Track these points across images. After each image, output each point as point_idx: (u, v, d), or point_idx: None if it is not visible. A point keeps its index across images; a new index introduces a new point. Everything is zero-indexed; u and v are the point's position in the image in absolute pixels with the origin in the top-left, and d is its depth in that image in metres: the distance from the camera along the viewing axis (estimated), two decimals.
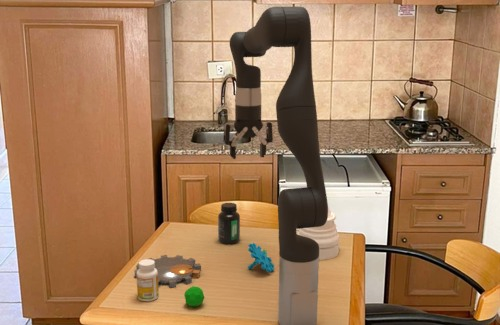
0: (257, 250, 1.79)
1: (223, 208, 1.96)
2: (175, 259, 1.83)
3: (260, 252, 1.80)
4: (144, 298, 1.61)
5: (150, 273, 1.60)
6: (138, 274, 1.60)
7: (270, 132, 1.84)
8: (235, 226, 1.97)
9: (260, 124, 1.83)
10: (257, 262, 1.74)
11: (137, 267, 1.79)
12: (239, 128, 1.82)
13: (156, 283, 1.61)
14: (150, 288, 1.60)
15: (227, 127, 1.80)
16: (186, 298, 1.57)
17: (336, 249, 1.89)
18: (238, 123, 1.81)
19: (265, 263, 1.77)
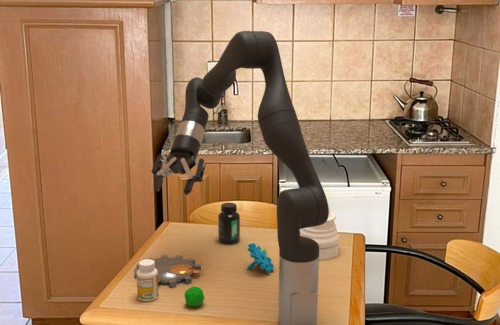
0: (257, 250, 1.79)
1: (223, 208, 1.96)
2: (175, 259, 1.83)
3: (260, 252, 1.80)
4: (144, 298, 1.61)
5: (150, 273, 1.60)
6: (138, 274, 1.60)
7: (199, 167, 1.70)
8: (235, 226, 1.97)
9: (191, 159, 1.72)
10: (256, 262, 1.74)
11: (137, 267, 1.79)
12: (169, 159, 1.74)
13: (156, 283, 1.61)
14: (150, 288, 1.60)
15: (158, 156, 1.75)
16: (186, 298, 1.57)
17: (336, 249, 1.89)
18: (170, 155, 1.74)
19: (264, 263, 1.77)
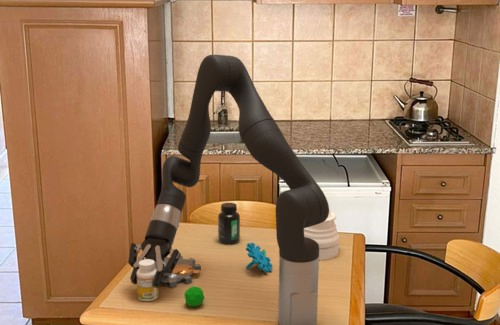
0: (255, 250, 1.80)
1: (223, 208, 1.96)
2: None
3: (258, 252, 1.80)
4: (144, 298, 1.61)
5: (150, 273, 1.60)
6: (138, 274, 1.60)
7: (171, 259, 1.61)
8: (235, 226, 1.97)
9: (167, 246, 1.64)
10: (254, 262, 1.74)
11: None
12: (144, 246, 1.65)
13: None
14: (150, 288, 1.60)
15: (132, 245, 1.66)
16: (186, 298, 1.57)
17: (336, 249, 1.89)
18: (144, 241, 1.66)
19: (262, 263, 1.77)
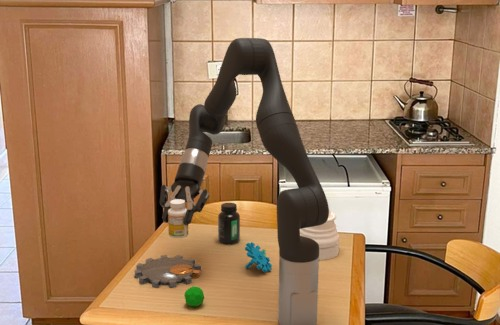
0: (255, 249, 1.80)
1: (223, 208, 1.96)
2: (175, 259, 1.83)
3: (258, 251, 1.80)
4: (175, 235, 1.70)
5: (181, 211, 1.69)
6: (169, 212, 1.69)
7: (201, 198, 1.71)
8: (235, 226, 1.97)
9: (196, 187, 1.73)
10: (252, 261, 1.75)
11: (137, 267, 1.79)
12: (175, 187, 1.74)
13: None
14: (181, 226, 1.70)
15: (162, 187, 1.75)
16: (186, 298, 1.57)
17: (336, 249, 1.89)
18: (174, 183, 1.75)
19: (261, 263, 1.77)
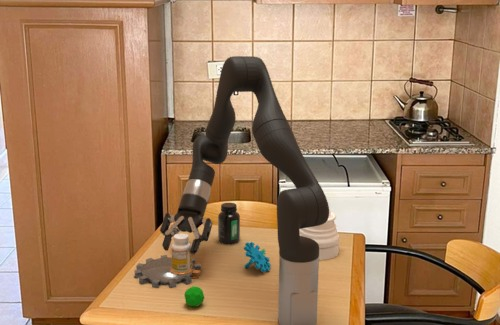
0: (254, 249, 1.80)
1: (223, 208, 1.96)
2: None
3: (257, 251, 1.81)
4: (178, 269, 1.74)
5: (184, 246, 1.72)
6: (173, 247, 1.73)
7: (206, 227, 1.74)
8: (235, 226, 1.97)
9: (199, 218, 1.76)
10: (251, 261, 1.75)
11: (137, 267, 1.79)
12: (177, 218, 1.77)
13: (189, 255, 1.74)
14: (184, 260, 1.73)
15: (166, 215, 1.79)
16: (186, 298, 1.57)
17: (336, 249, 1.89)
18: (178, 213, 1.78)
19: (260, 262, 1.77)
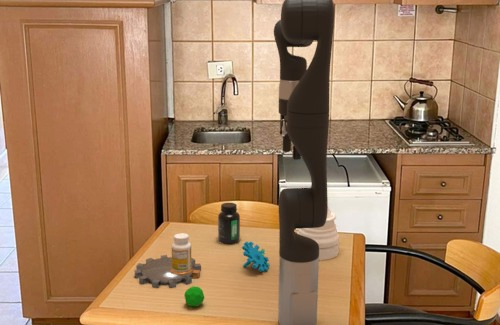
0: (252, 249, 1.80)
1: (223, 208, 1.96)
2: None
3: (256, 251, 1.81)
4: (179, 269, 1.73)
5: (185, 245, 1.73)
6: (174, 247, 1.73)
7: None
8: (235, 226, 1.97)
9: None
10: (248, 260, 1.75)
11: (137, 267, 1.79)
12: None
13: (190, 255, 1.74)
14: (185, 260, 1.73)
15: (280, 116, 1.76)
16: (186, 298, 1.57)
17: (336, 249, 1.89)
18: (284, 115, 1.73)
19: (258, 262, 1.77)
